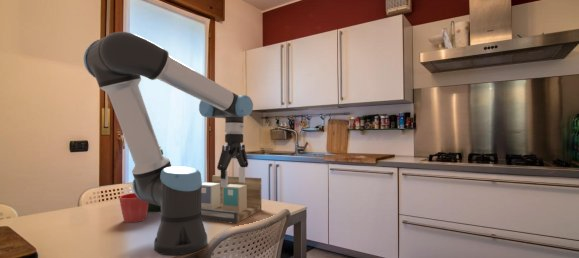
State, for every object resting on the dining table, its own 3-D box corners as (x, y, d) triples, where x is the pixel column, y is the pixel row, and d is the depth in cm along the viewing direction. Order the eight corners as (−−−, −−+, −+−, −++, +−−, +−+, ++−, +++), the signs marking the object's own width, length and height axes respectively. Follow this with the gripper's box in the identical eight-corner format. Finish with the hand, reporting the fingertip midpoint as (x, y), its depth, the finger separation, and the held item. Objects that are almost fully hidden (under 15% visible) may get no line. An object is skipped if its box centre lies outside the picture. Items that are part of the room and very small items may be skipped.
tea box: (222, 210, 124) (222, 186, 124) (230, 207, 129) (230, 183, 130) (238, 212, 121) (238, 187, 121) (246, 208, 127) (246, 185, 127)
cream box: (211, 209, 125) (211, 185, 125) (195, 208, 128) (195, 184, 128) (220, 206, 131) (220, 183, 131) (205, 204, 134) (205, 182, 134)
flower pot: (112, 221, 116) (113, 196, 116) (138, 214, 126) (138, 191, 126) (130, 225, 111) (130, 199, 111) (155, 218, 121) (155, 193, 121)
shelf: (236, 223, 113) (235, 186, 113) (182, 216, 122) (182, 182, 122) (261, 209, 133) (261, 178, 133) (213, 204, 142) (213, 175, 142)
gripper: (225, 132, 112) (224, 189, 112) (256, 133, 136) (255, 181, 135) (208, 132, 115) (207, 188, 114) (241, 133, 138) (241, 180, 138)
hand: (233, 184), depth 125 cm, fingers open, 13 cm apart
